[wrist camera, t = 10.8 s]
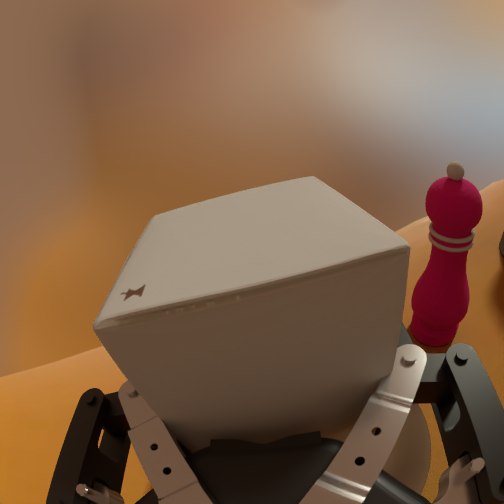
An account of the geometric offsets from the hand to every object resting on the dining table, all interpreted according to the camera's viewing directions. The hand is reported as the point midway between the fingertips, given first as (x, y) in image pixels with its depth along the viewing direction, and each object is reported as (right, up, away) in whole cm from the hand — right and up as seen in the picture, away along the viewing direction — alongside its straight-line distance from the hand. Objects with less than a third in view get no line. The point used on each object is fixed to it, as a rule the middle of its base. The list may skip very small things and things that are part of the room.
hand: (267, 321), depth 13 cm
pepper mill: (+21, -6, +16) cm, 28 cm away
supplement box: (+1, -7, +2) cm, 7 cm away
